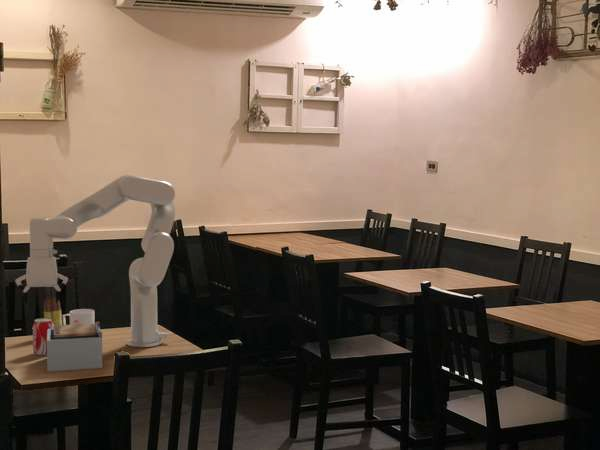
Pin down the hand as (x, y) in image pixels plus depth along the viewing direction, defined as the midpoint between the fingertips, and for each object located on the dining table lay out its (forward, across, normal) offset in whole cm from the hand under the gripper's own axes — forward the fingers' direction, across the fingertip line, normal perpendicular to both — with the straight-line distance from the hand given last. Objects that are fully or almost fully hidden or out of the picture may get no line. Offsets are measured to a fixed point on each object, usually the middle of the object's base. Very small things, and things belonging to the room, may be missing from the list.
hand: (42, 302), depth 274 cm
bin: (+18, -10, +16) cm, 26 cm away
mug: (+18, -12, -18) cm, 28 cm away
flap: (+7, -10, +16) cm, 20 cm away
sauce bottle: (+18, -3, -26) cm, 32 cm away
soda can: (+18, 0, 0) cm, 18 cm away
